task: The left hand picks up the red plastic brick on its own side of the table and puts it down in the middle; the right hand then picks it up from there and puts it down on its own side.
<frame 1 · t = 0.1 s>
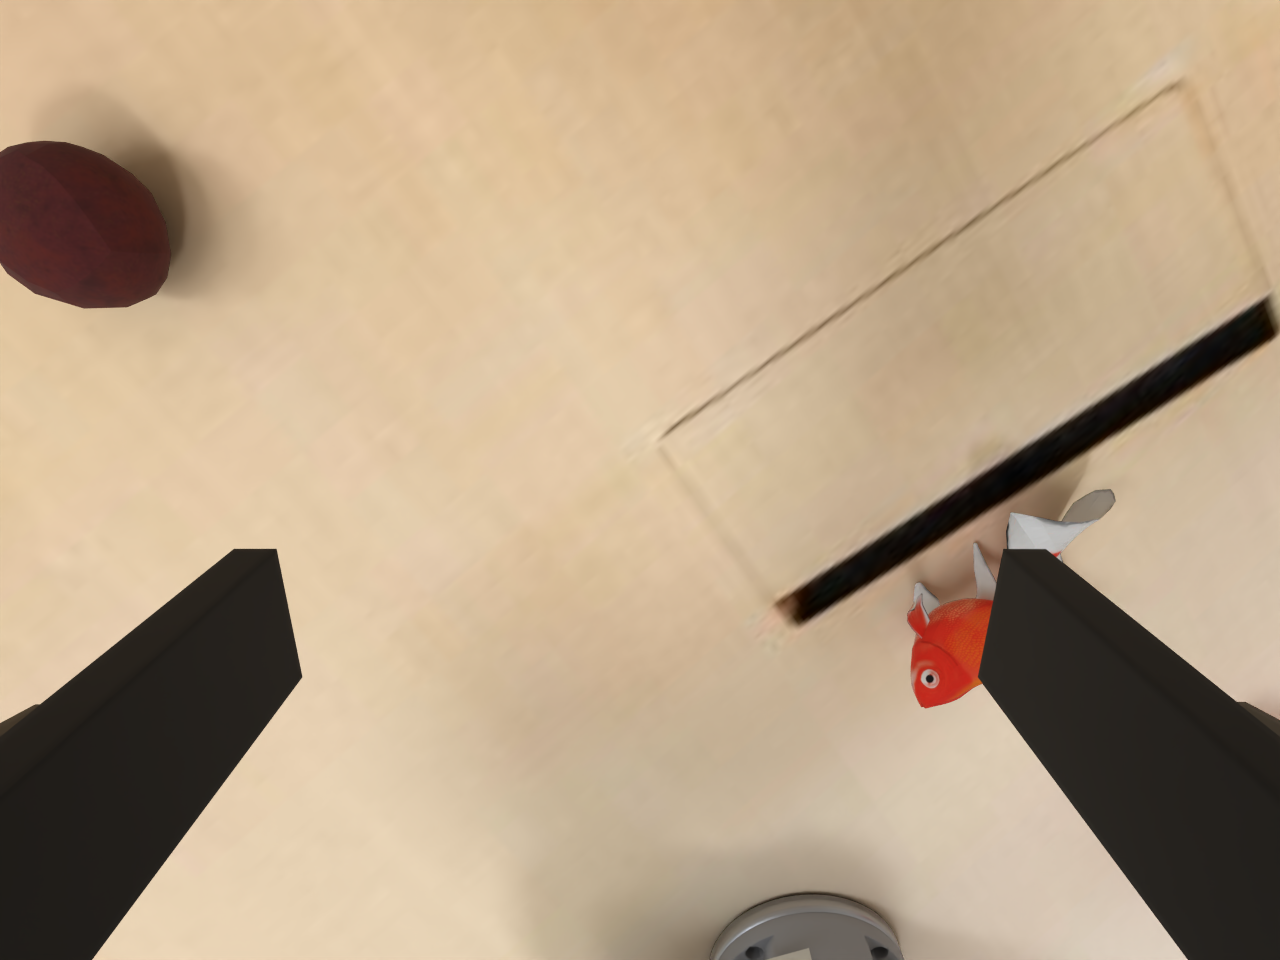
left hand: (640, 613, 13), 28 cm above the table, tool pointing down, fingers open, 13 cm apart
fish: (978, 561, 44), on the table
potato: (132, 230, 37), on the table
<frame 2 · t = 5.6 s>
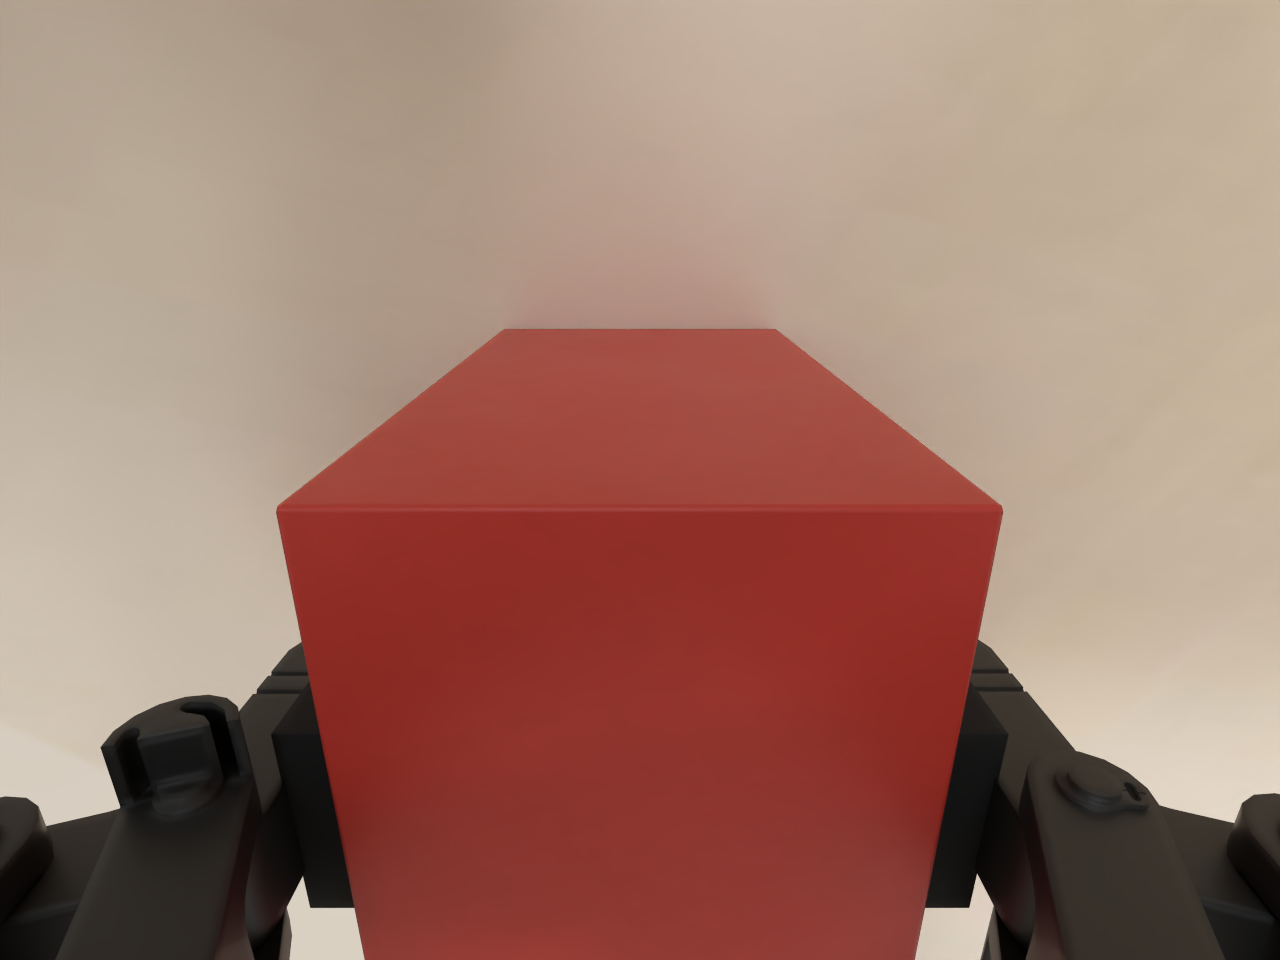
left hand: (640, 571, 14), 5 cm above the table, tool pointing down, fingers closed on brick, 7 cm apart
brick: (639, 488, 19), on the table, touching left hand
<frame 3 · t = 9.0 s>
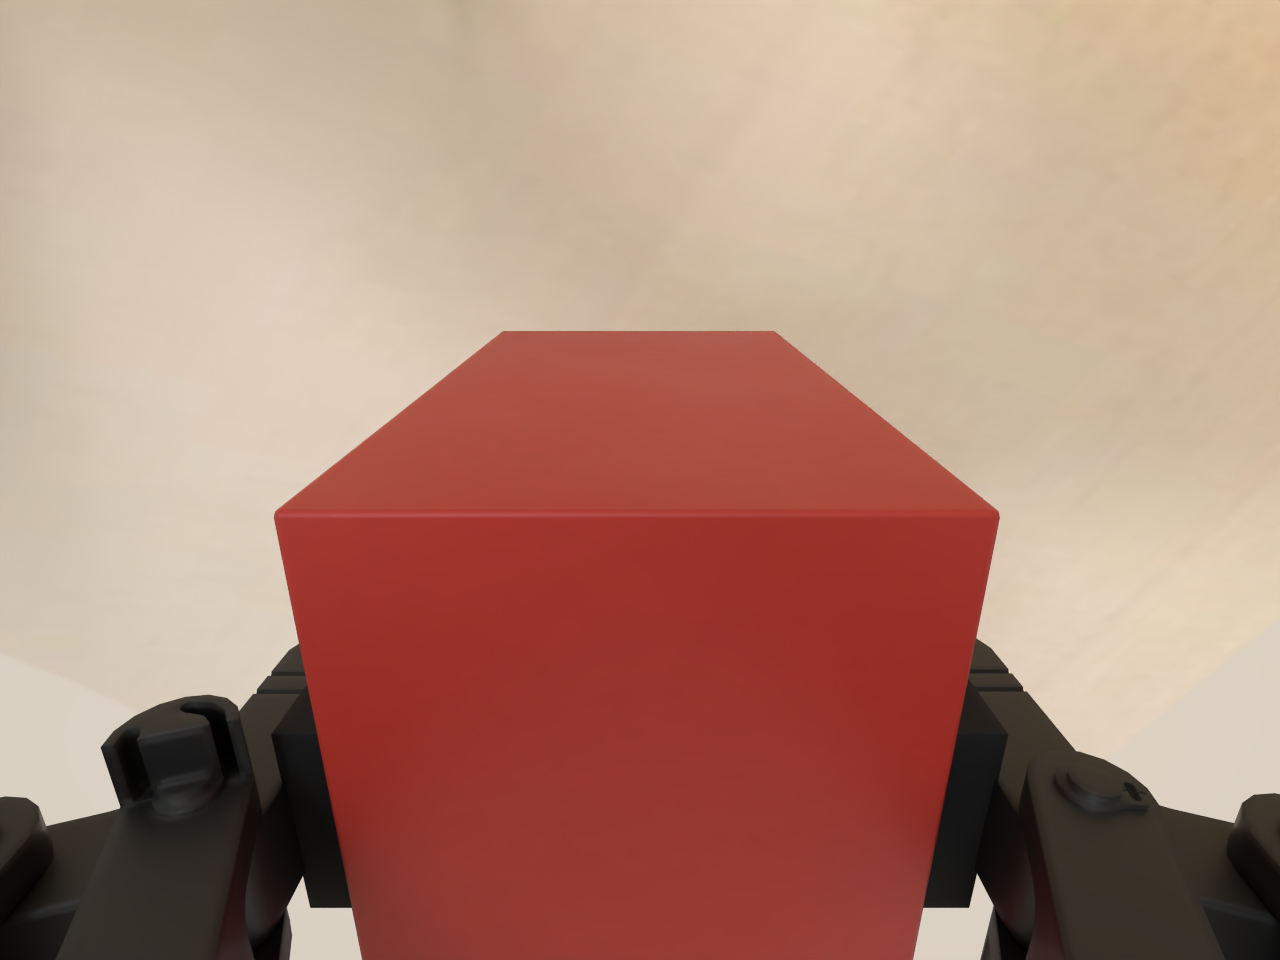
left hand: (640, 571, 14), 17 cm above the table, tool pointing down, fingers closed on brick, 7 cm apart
brick: (638, 490, 19), point 12 cm above the table, touching left hand
when the left hand's fingers open (6 cm above the table, at t = 12.6 s): brick drops 2 cm, on the table.
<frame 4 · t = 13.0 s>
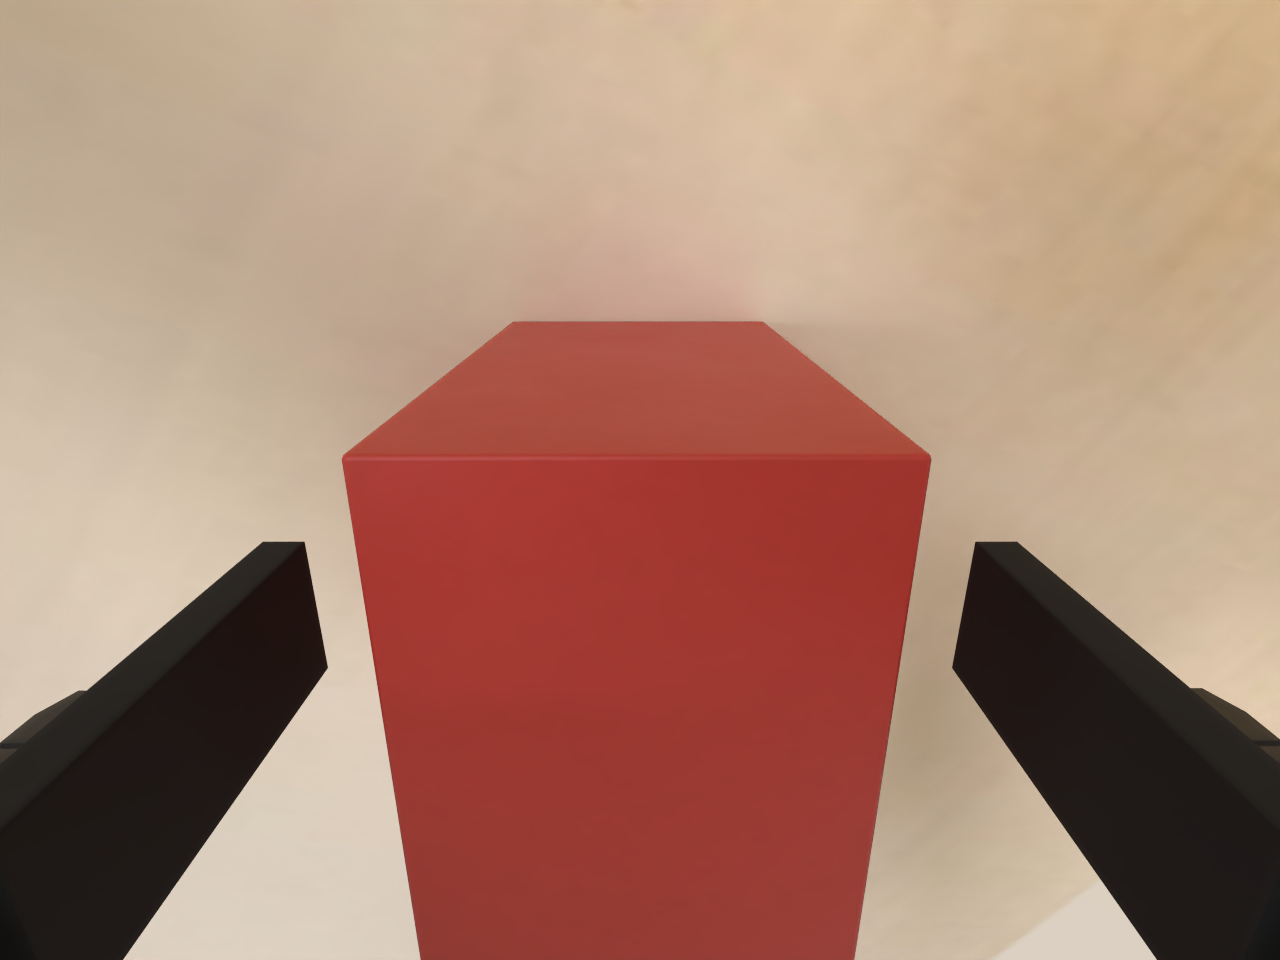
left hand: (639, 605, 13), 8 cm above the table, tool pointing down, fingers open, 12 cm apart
brick: (638, 470, 20), on the table
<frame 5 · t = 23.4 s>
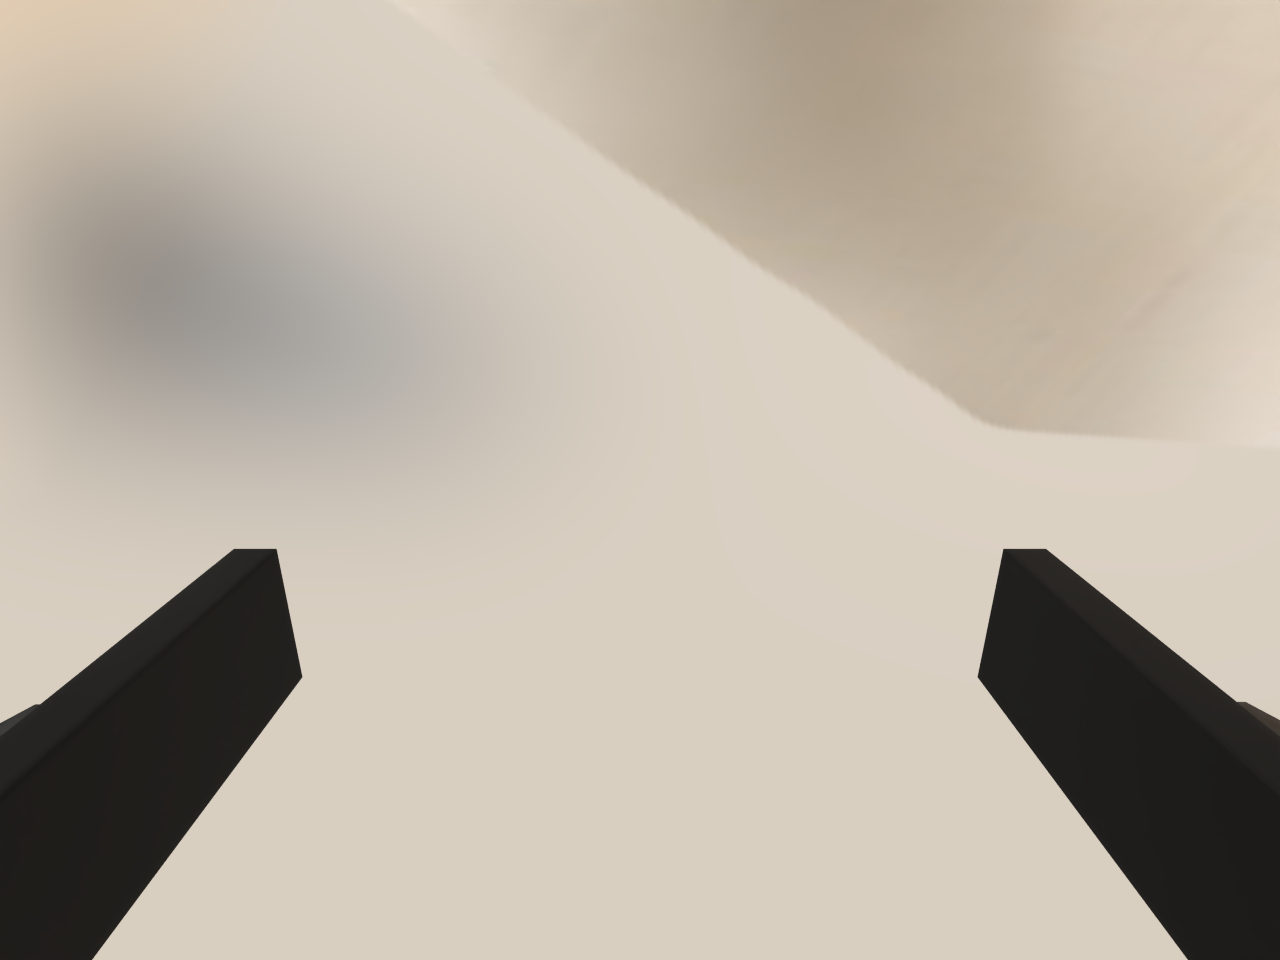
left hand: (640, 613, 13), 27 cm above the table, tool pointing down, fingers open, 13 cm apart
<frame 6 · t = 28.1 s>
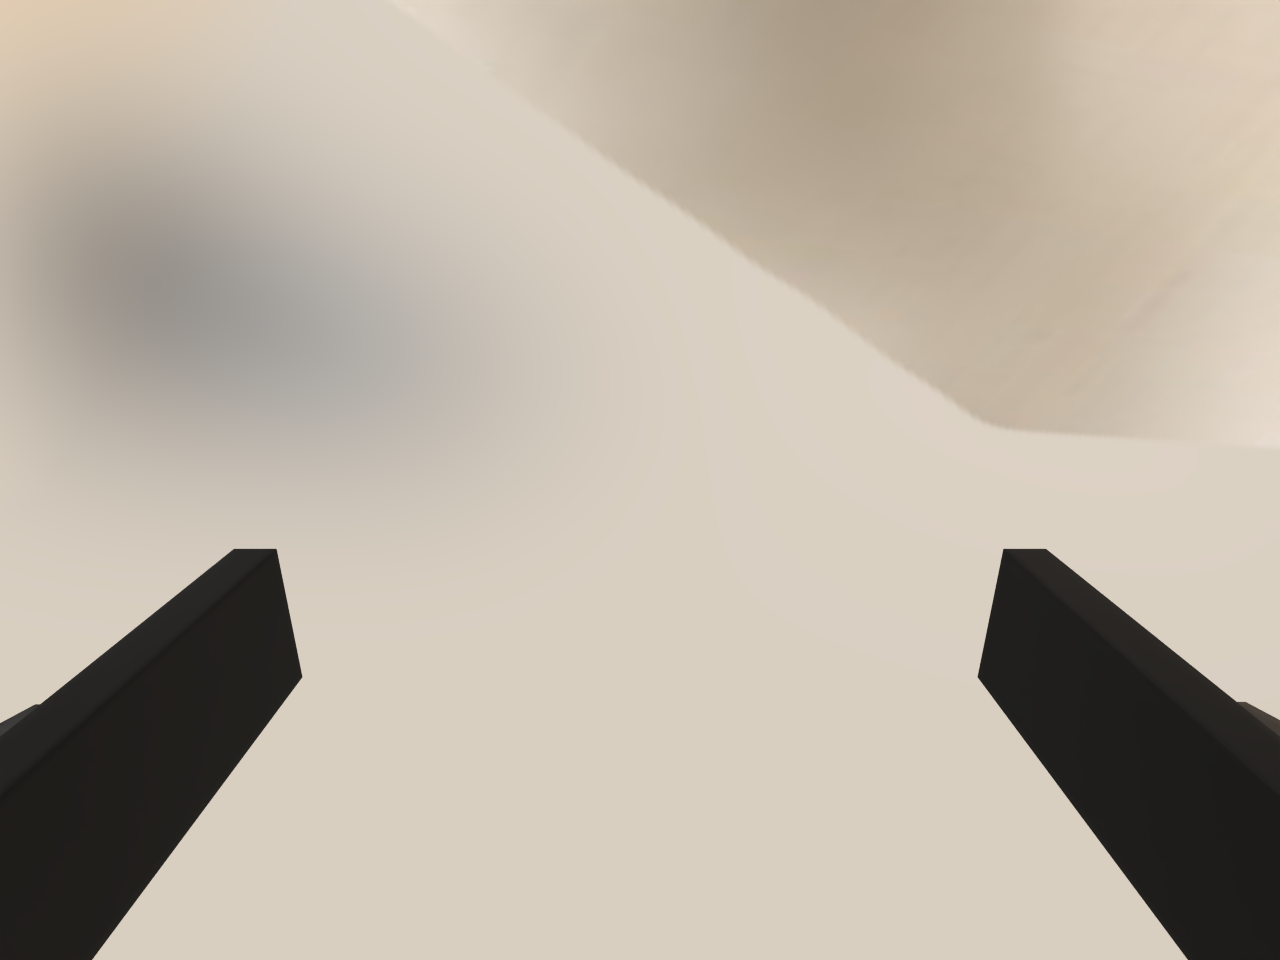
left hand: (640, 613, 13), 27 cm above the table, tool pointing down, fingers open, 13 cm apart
when the right hand's fingers open (6 cm above the table, at t = 33.1 s): brick drops 2 cm, on the table.
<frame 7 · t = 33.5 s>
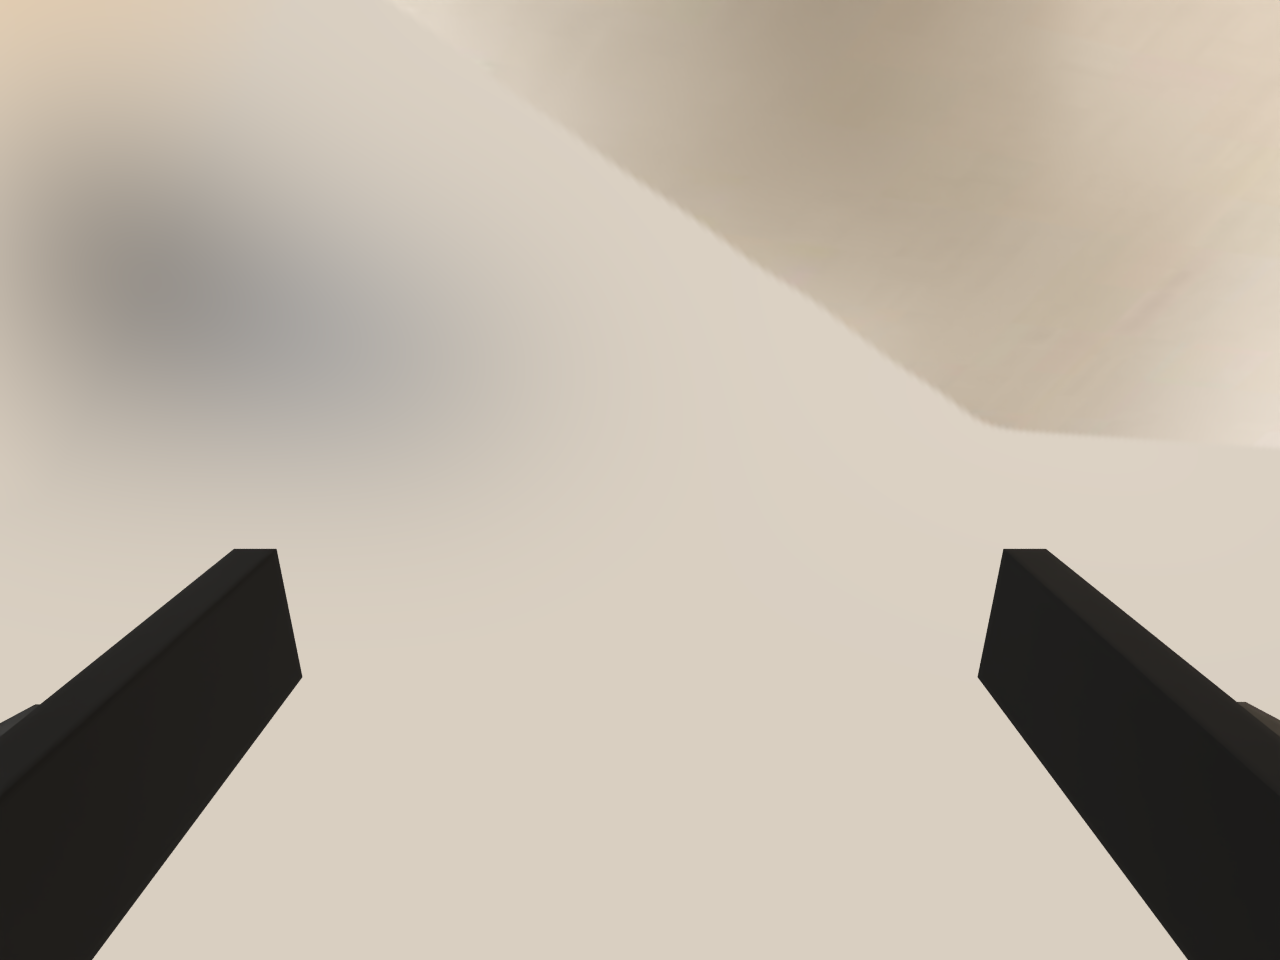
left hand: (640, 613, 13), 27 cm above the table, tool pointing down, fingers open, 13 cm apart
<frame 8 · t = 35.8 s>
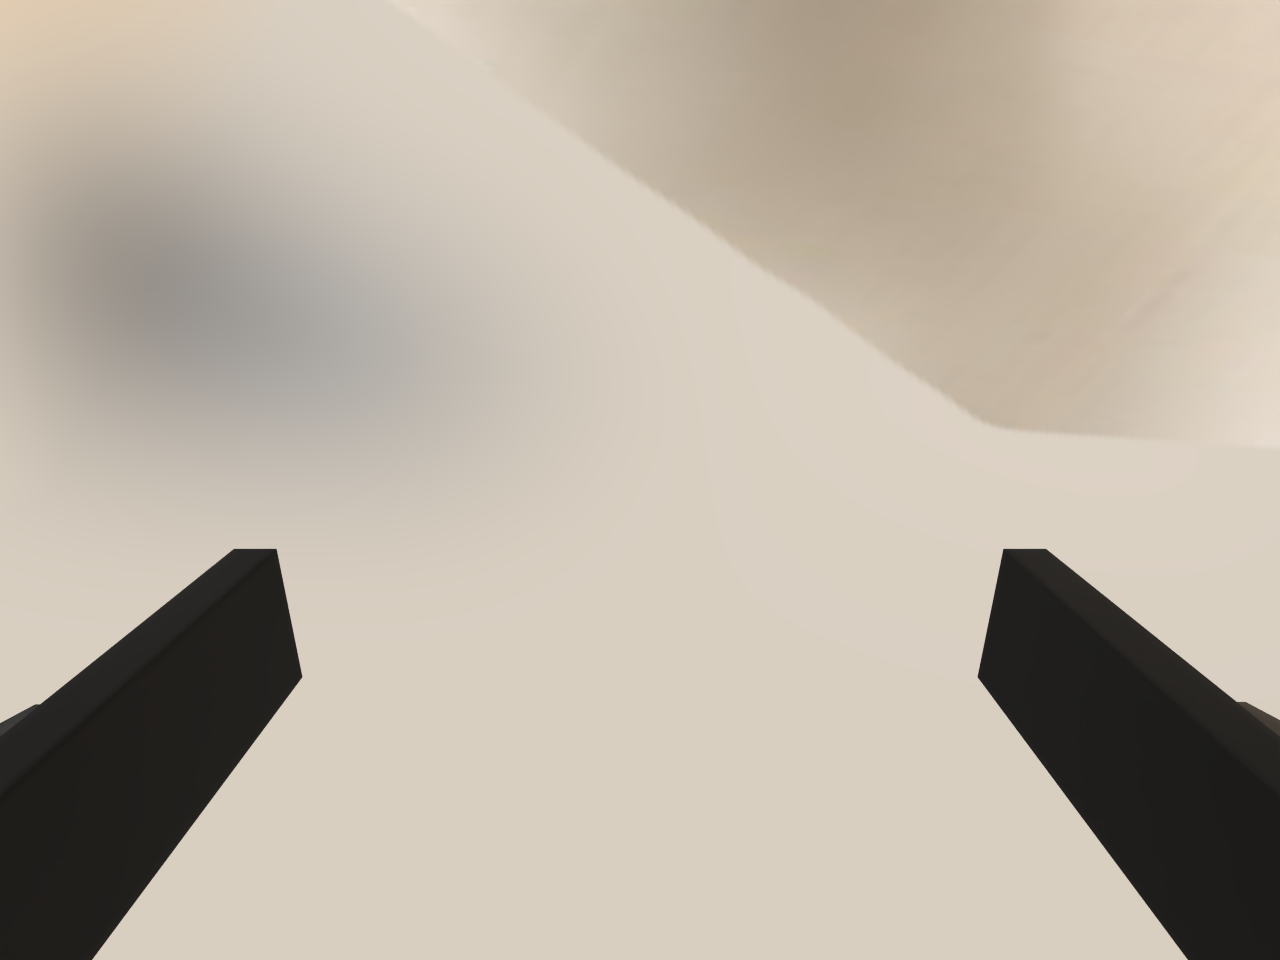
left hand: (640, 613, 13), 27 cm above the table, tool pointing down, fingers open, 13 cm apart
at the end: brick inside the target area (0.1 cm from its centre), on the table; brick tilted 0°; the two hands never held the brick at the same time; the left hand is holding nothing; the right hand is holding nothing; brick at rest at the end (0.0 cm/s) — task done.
